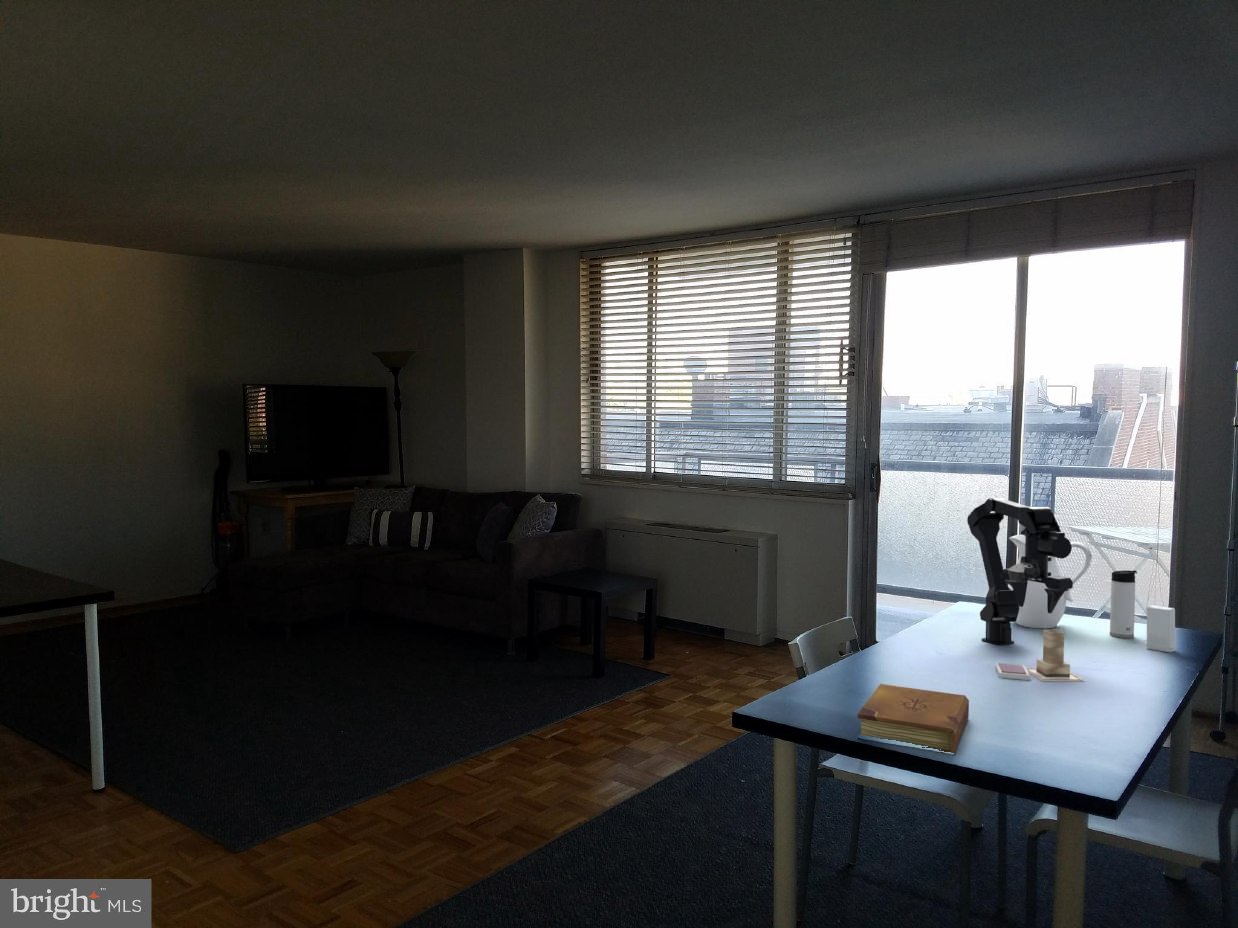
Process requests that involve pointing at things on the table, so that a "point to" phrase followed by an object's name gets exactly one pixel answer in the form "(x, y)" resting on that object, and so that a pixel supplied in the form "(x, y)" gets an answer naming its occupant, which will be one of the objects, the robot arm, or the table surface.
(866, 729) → the diary
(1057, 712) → the table surface
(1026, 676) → the ink pad
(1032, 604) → the pitcher
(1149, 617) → the skincare box
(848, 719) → the table surface
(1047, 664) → the stamp
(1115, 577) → the travel mug
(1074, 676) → the marked card
